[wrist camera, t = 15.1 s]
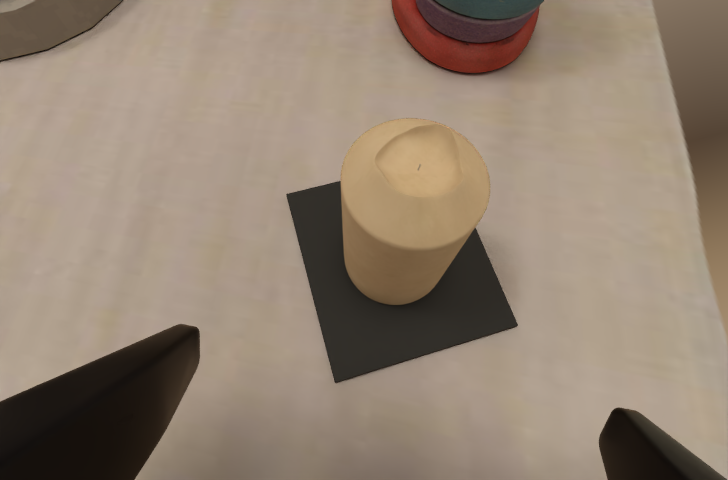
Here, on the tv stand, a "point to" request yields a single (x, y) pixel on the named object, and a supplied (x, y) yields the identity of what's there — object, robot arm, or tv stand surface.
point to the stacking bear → (468, 30)
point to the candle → (408, 206)
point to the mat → (382, 321)
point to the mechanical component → (46, 23)
